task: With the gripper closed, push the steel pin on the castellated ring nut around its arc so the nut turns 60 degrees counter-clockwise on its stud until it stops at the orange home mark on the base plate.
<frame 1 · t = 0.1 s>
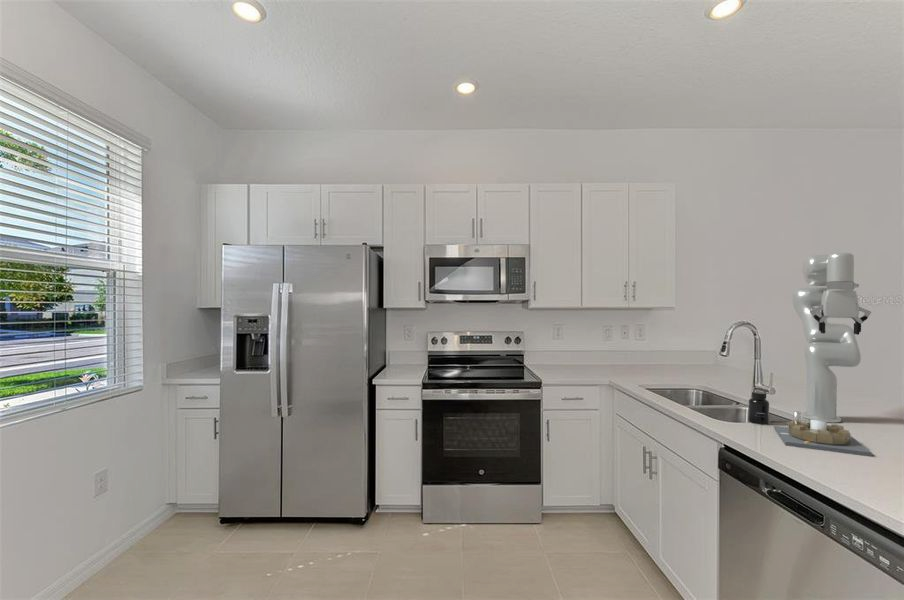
hand: (839, 333, 165), 37 cm above the worktop, tool pointing down, fingers open, 9 cm apart
nut base: (818, 441, 156), on the worktop
supplement bottle: (758, 423, 180), on the worktop
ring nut: (818, 425, 156), point 6 cm above the worktop, hinge at 0.0°
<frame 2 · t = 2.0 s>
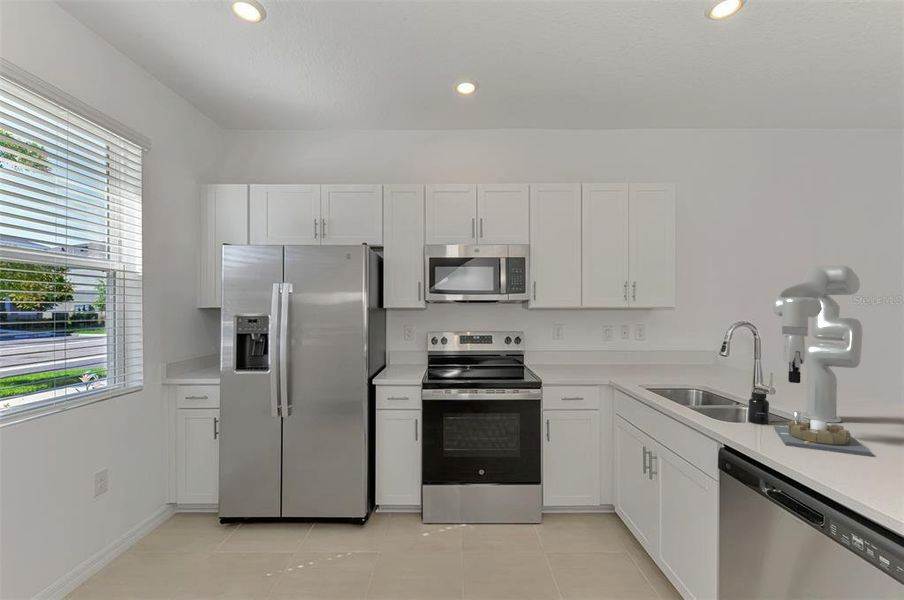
hand: (794, 382, 163), 19 cm above the worktop, tool pointing down, fingers closed
nothing on the worktop moved.
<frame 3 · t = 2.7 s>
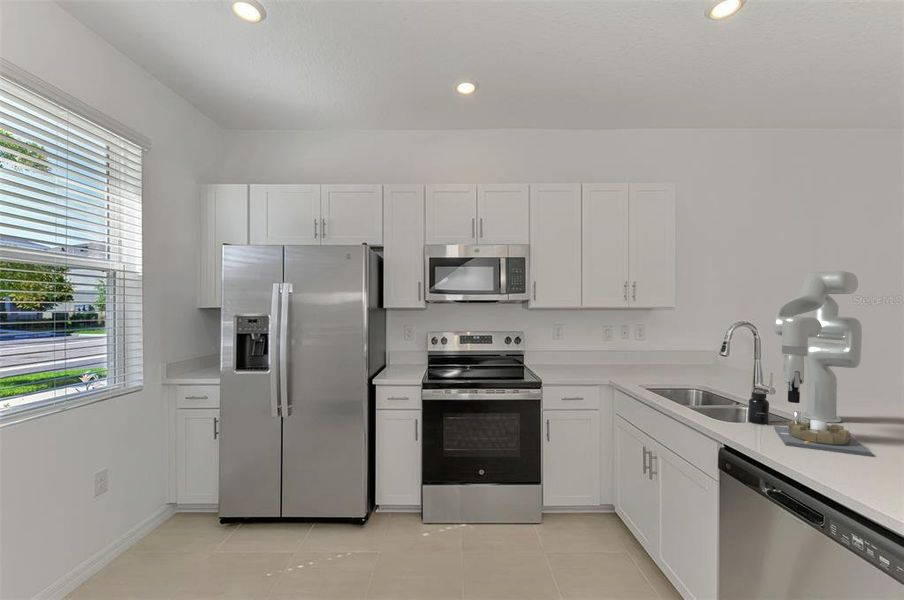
hand: (793, 402, 163), 12 cm above the worktop, tool pointing down, fingers closed
nothing on the worktop moved.
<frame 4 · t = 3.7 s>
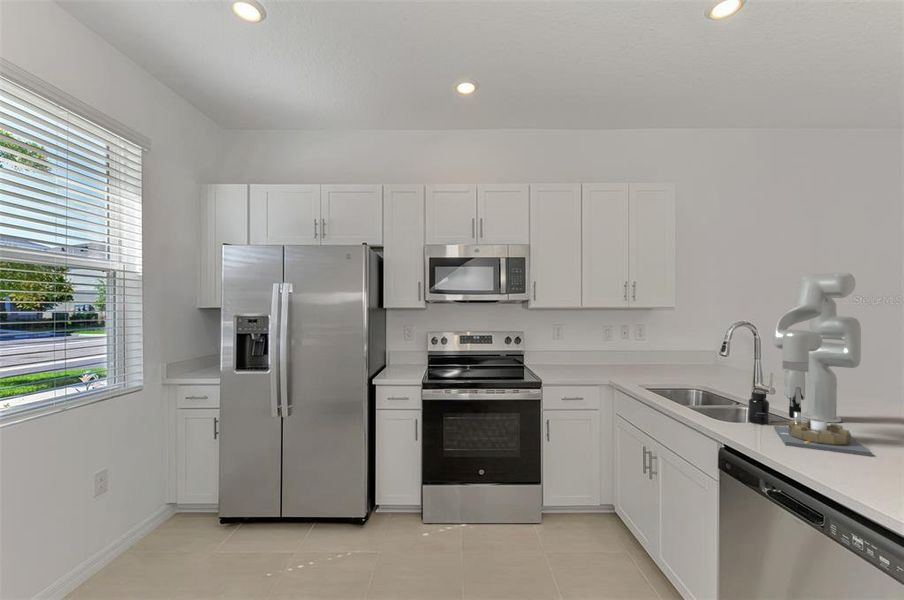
hand: (795, 417, 161), 7 cm above the worktop, tool pointing down, fingers closed
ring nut: (818, 425, 156), point 6 cm above the worktop, hinge at 3.2°, touching gripper
everything else where it was.
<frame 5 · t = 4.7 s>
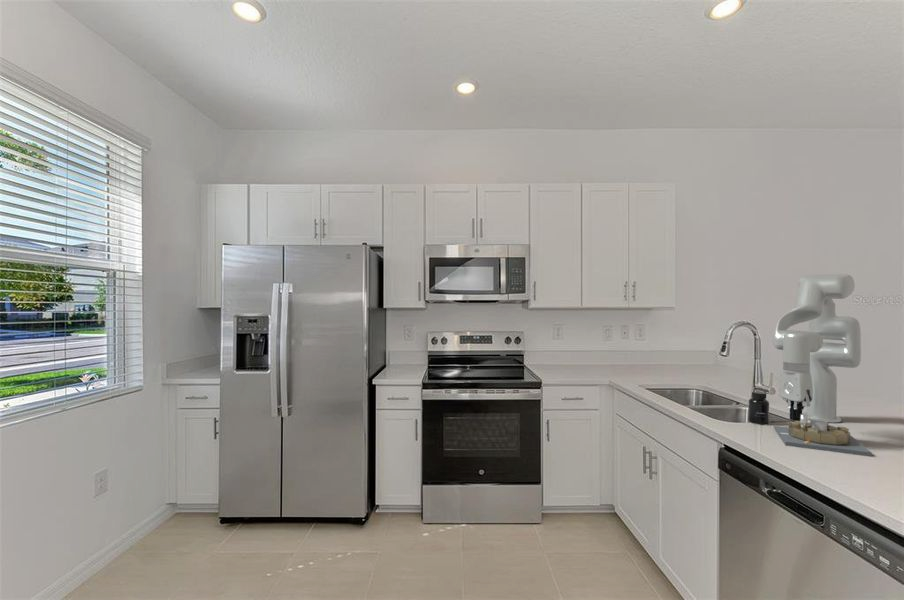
hand: (795, 420, 158), 7 cm above the worktop, tool pointing down, fingers closed
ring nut: (818, 425, 156), point 6 cm above the worktop, hinge at 37.0°, touching gripper
everything else where it was.
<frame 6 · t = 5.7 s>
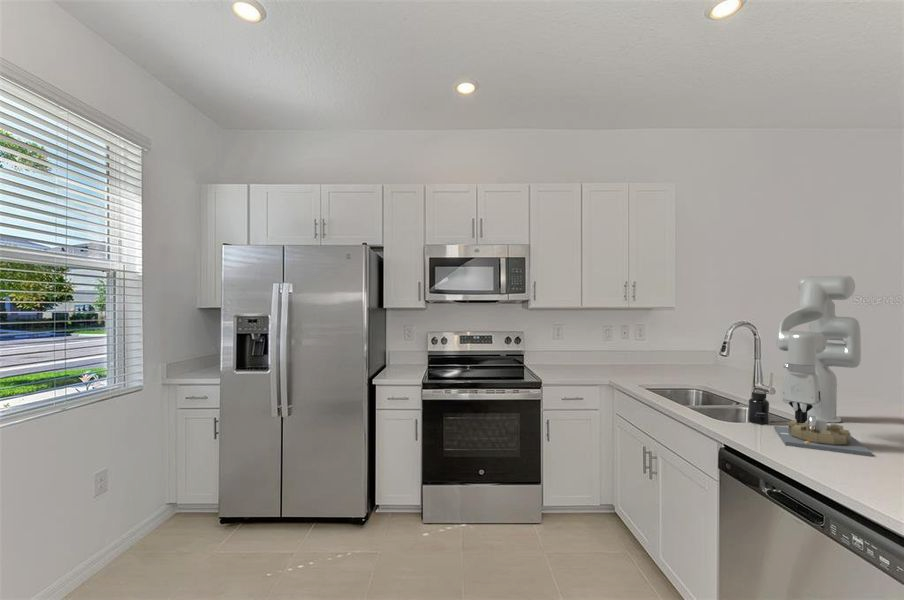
hand: (801, 422, 155), 7 cm above the worktop, tool pointing down, fingers closed
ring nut: (818, 425, 156), point 6 cm above the worktop, hinge at 62.1°, touching gripper
everything else where it was.
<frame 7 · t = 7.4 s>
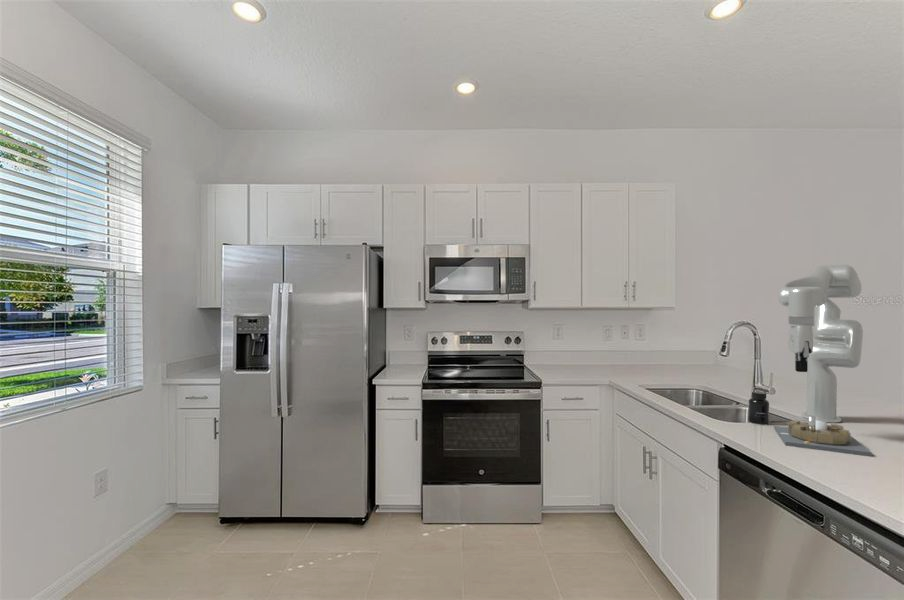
hand: (801, 371, 165), 23 cm above the worktop, tool pointing down, fingers closed
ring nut: (818, 425, 156), point 6 cm above the worktop, hinge at 61.1°
everything else where it was.
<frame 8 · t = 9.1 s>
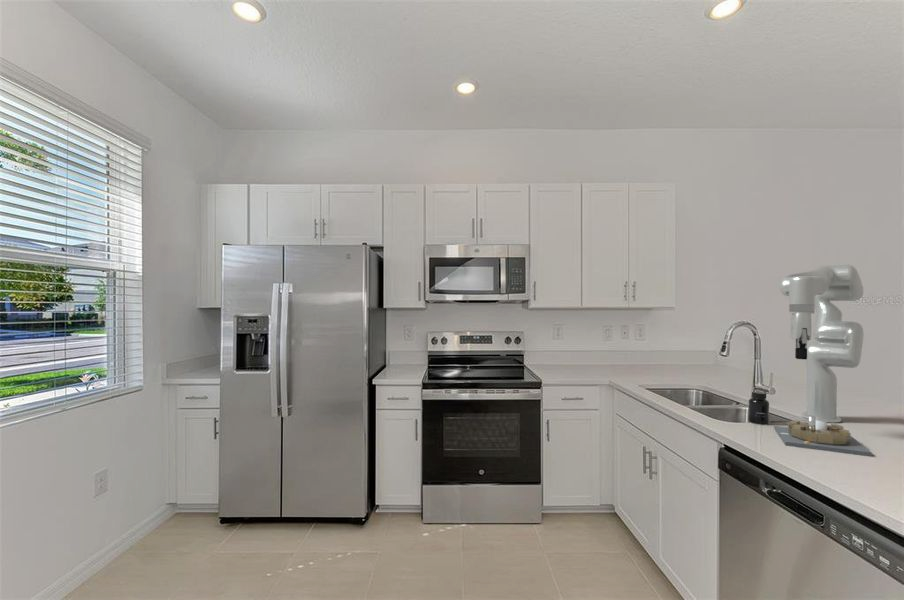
hand: (801, 358, 167), 27 cm above the worktop, tool pointing down, fingers closed
nothing on the worktop moved.
at the end: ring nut at +61° (first picture: +0°); supplement bottle moved 0.2 cm from its start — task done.
